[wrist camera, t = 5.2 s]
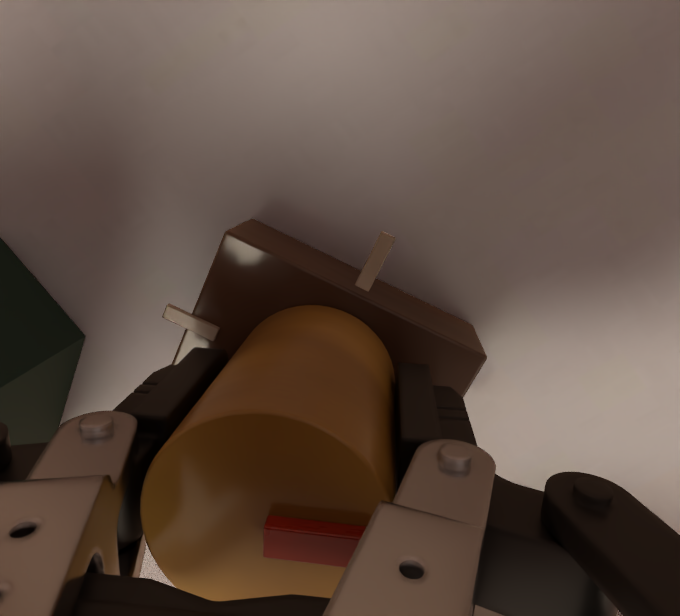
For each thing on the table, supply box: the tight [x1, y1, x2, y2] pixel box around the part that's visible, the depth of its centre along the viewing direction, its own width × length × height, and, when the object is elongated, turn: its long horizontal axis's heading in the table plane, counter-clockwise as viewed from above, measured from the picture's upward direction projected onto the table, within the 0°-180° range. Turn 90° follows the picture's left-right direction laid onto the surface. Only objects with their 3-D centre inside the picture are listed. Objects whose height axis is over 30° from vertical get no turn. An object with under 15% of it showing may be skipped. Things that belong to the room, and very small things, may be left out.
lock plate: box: [162, 219, 487, 397], centre depth 15 cm, size 8×8×3 cm
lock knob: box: [140, 305, 396, 601], centre depth 11 cm, size 4×4×6 cm
